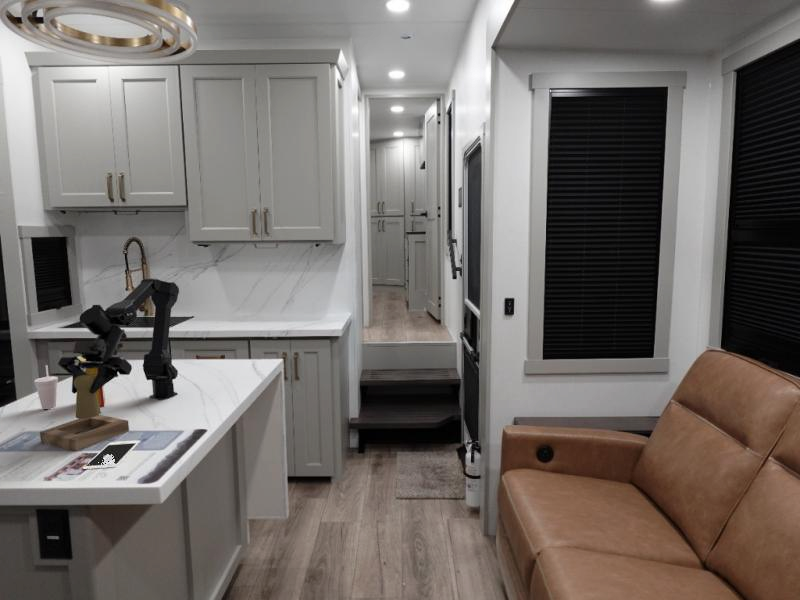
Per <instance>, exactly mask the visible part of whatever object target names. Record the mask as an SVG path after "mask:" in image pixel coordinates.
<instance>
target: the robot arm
mask: <svg viewBox="0 0 800 600" xmlns="http://www.w3.org/2000/svg"><path fill="white" fill-rule="evenodd" d="M179 293H180V288H179V286H178V285H177V283H175V282H172V281H171V282H168V281H164V280H161V279H158V278H143V279H142V280H141V281H140V283H139V284H138V285H137V286H136V287H135V288H134V289H133V290H132V291H131V292H130V293H129V294H128V295H127V296H126V297H125V298H124V299H123V300H121V301H119V302H115V303H113V304H111V305H110V306H108V307H107V308H106V309H105V310H104V308H103V307H102V306H101V304H92V306H91V307H90V308H88V309H86V310H84V311H83V312H82V313H80V315H79V318H78V319H79V322H80V323H81V324H82V325H83V326H84V327H85V328H86V329H87V330H88V331H90V333H91V334H93V335H96V338H95V339H94V340H93V341H92V340H91V341H89V340H75V341H74V345H73V351H72V353H73V354H79V355H80V356H81V357H82V358H84V359H86V361H80V360H79V359H78V358H77V357H78V356H73V355H72V356H71V355H70V356H67V355H66V356H61V357H60V359H59V361H58V363H57V365H58V366H60V367H61V368H62V369H63V370H65V371H66V372H67V373H68V374H71V375H72V384H71V393H73V394H77V389H76V388H75V386H74V379H75V378H76V377H78V376H82V375H88V374H87V373H86V372H85V370H86V368H98V374H97V376H96V378H95V380H94V382H93V385H92V387H91V390H90V393H91V394H94V393H95V392H96V391H97V390H99V389H100V388H101V387H102V386H103V385H104V386H106V384H108V383H109V382H110V381H112V380H114V379H115V378H118V376H119V375H122V376H125V375H127V376H129V375H130V374H131V372H132V370H133V366H132V364H131V363H130V362H129V361H128V360H127V359H126V358H125V357H124V356H118V351H117V350H116V349H117V348H118V345H119V343H120V341H121V339H123V340H124V339H125V340H126V339H127V337H128V336H127V334H126V331H125V329H122V328H121V326H122V327H129V326H131V325H132V324H133V323H134V321H135V320H136V318H137V316H138V314H137V313H138V312H137V311H138V310H139V309H140V308H141V307H142V306H143V304H144V303H145V302H147V300H149V299H151V301H152V304H153V305H154V307H155V309H154V318H153V330H152V338H151V339H152V340H151V349H150V351H148V353H145V354H144V356H143V364H142V370H143V373H144V376H145V379H146V381H151V383H152V384H151V386H152V395H149V398H151V399H158V400H165V399H168V398H171V397H175V396H176V395H178V392H176V391H175V388H174V382H173V380H175V379H177V377H178V373H179V372H178V369H177V368H176V367H175V366H174V365H173V363H172V362H173V359H172V356H171V354H170V352H169V351H168V348H169V347H168V346H169V334H170V326H171V325H170V324H171V316H172V308H173V307H174V306H175V304H176V303H177V301H178V297H179Z"/></svg>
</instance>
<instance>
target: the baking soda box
mask: <svg viewBox="0 0 800 600" xmlns="http://www.w3.org/2000/svg"><path fill="white" fill-rule="evenodd" d="M81 356H82V355H78V356H76V357H77V358H78V359H79V360H80V361H86V359H84V358H82V357H81ZM85 372H86V373H87V374H88V375H93V376H94V377H95V378H96V376H97V374H98V368H86V370H85ZM104 387H105V385H103V386H102V387H101V388H100V389H99V390H97V391H96V395H97V399H98V402H99V406H100V408H105V402H106V397H105V388H104Z"/></svg>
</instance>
